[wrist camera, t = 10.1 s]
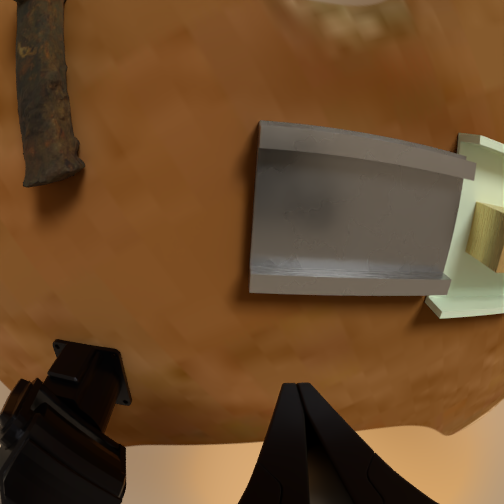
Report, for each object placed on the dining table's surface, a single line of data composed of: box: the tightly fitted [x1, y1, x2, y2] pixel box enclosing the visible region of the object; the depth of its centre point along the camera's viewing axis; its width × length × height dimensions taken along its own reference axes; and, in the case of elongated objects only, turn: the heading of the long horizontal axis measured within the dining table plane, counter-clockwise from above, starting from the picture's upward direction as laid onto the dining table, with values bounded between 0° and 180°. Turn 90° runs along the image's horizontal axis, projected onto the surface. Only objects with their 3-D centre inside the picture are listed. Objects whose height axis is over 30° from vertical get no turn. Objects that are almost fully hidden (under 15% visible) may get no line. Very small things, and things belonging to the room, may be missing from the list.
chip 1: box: [465, 202, 504, 273], centre depth 18 cm, size 4×4×4 cm
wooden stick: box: [14, 0, 85, 187], centre depth 13 cm, size 19×4×5 cm, turn 5°
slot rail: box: [248, 120, 477, 296], centre depth 18 cm, size 10×14×2 cm
